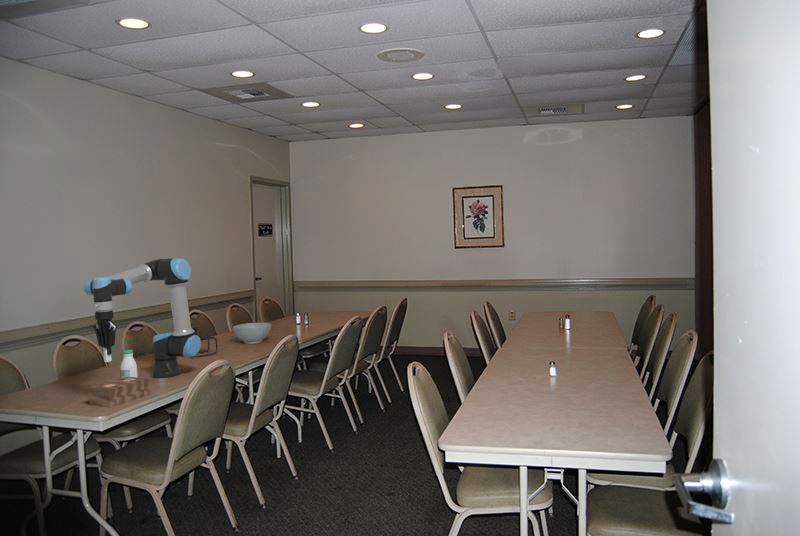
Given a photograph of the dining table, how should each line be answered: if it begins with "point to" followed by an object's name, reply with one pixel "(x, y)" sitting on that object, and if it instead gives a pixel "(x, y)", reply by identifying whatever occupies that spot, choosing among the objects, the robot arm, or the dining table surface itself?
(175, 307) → the robot arm
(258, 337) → the decorative bowl
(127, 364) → the milk bottle
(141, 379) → the walnut block
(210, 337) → the dark open wire frame
